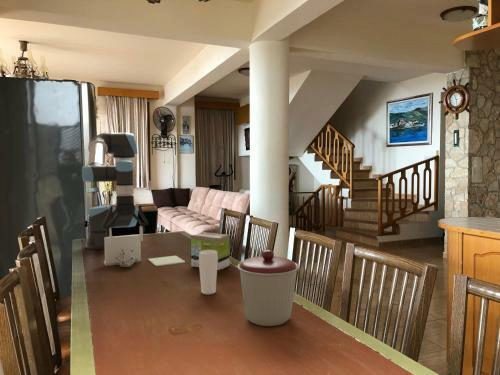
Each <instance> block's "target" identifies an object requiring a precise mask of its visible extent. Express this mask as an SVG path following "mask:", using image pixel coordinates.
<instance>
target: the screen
mask: <svg viewBox="0 0 500 375" xmlns="http://www.w3.org/2000/svg"><path fill="white" fill-rule="evenodd" d="M104 241H105V249H104V260H103V264H104V266H105V267H109V266H117V265H118V266H120V264H119V261H118V259H116V257H118V256H119V255H120V254H121V252H122V250H123V251H132V250H133V251H132V252H133V254H134V256H135V259H137V260H135V261H134V263H135V264H136V263H141V262H142V252H141V248H142V247H141V246H142V244H141V242H142V241H140V233H139V234H130V235H129V234H128V235H127V234H126V235H119V236H117V235H116V236H112V244H109V237H104ZM134 263H133V264H134Z"/></svg>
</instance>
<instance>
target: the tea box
mask: <svg viewBox="0 0 500 375" xmlns="http://www.w3.org/2000/svg"><path fill="white" fill-rule="evenodd" d="M203 250H215V251H217V256H218V264H217V270H219V271H221V270H224V269H225V268H228V267H229V266H230V234H224V233H223V234H222V233H217V232H216V233H215V232H208V231H207V232H205V231H203V232H198V233H195V234H191V235H190V253H191V254H190V258H191V259H190V261H191V262H190V263H191V265H190V266H191V267H194V268H199V252H200V251H203ZM220 269H221V270H220Z"/></svg>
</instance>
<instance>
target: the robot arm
mask: <svg viewBox="0 0 500 375" xmlns="http://www.w3.org/2000/svg"><path fill="white" fill-rule="evenodd" d="M87 147H88V148H87V150H88V161H87V165H83V166H81V178H82V182H85V183H86V182H87V183H102V182H104V183H105V182H115V183H116V184H115V193H116V198H115V199H116V201H115V203H114V206H111V205H110V204H106V205H105V204H104V205H98V206H93V207H90V208H89V209H88V216H87V217H88V237H87V240H86V244H85V248H86V249H88V250H105V241H104V237H109V244H112V237H113V235H112V229H113V228H115V229H116V228H131V227H135V226H136V225H137V223H139V224H140V226H139V234H140V241H141V242H143V241H144V239H143V238H144V237H143V236H144V234H145V232H146V226H147V225H150V224H149V221H148V219H147V216H146V214H144V211H143V209H142V205H140V204H137V205H136V203H135V196H134V194H135V192H134V190H135V189H134V187H135V186H134V162H133V160H134V159H135V155H137V154H138V147H137V141H136V137H135V134H133V133H132V132H131V133H130V132H103V133H99V134H97V135H95V136H94V137H93V138H91V140H90V141H89V143H88V146H87ZM108 154H109V155H112V158H113V159H114V160H115V165H106V155H108ZM138 214H139V215H140V217H141V219H142V220H143V221H142V220H141V219H140V218H139V216H138Z"/></svg>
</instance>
